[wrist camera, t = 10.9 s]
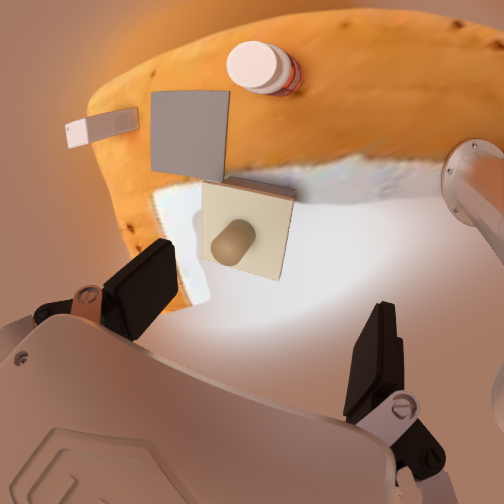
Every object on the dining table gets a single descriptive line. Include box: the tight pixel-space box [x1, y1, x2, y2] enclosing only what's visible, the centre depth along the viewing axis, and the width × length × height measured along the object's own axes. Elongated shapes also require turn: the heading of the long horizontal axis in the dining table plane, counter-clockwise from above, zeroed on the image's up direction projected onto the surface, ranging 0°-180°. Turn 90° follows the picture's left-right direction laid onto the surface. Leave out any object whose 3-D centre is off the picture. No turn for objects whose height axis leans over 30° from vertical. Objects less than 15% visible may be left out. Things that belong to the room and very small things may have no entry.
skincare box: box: [65, 107, 139, 148], centre depth 36 cm, size 6×4×12 cm
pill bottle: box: [227, 41, 303, 96], centre depth 26 cm, size 6×6×11 cm
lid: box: [202, 180, 294, 281], centre depth 35 cm, size 12×12×6 cm
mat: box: [151, 91, 230, 182], centre depth 39 cm, size 14×14×1 cm
